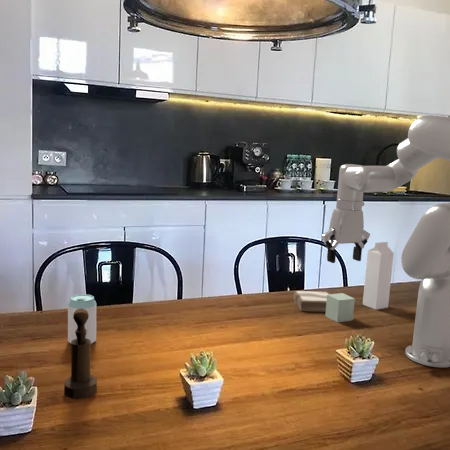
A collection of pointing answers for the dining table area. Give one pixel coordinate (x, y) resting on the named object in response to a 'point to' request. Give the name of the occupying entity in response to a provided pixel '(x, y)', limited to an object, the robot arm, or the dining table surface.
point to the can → (90, 305)
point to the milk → (378, 276)
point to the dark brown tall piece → (80, 362)
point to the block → (340, 307)
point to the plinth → (310, 300)
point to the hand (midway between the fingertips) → (343, 261)
